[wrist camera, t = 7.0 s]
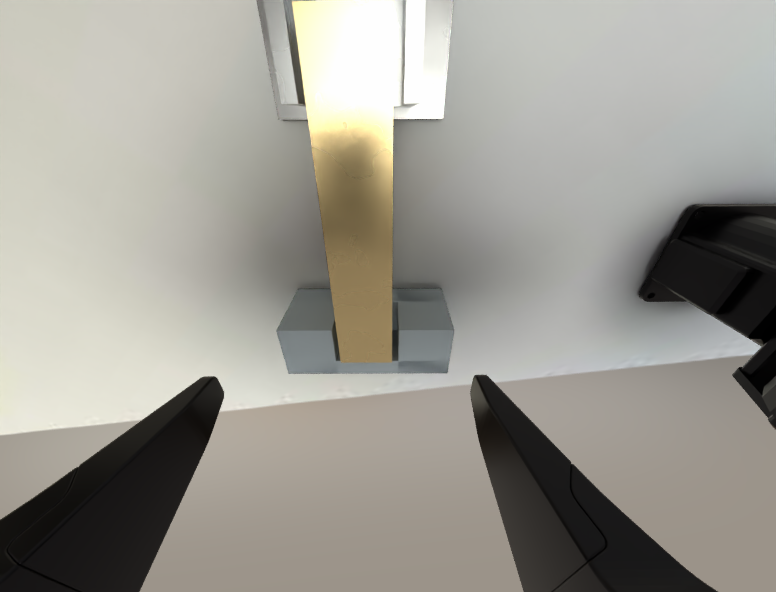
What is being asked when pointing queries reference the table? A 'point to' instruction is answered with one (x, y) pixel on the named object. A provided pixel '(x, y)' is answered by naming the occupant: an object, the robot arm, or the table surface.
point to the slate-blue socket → (409, 334)
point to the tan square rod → (353, 162)
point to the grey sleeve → (410, 57)
